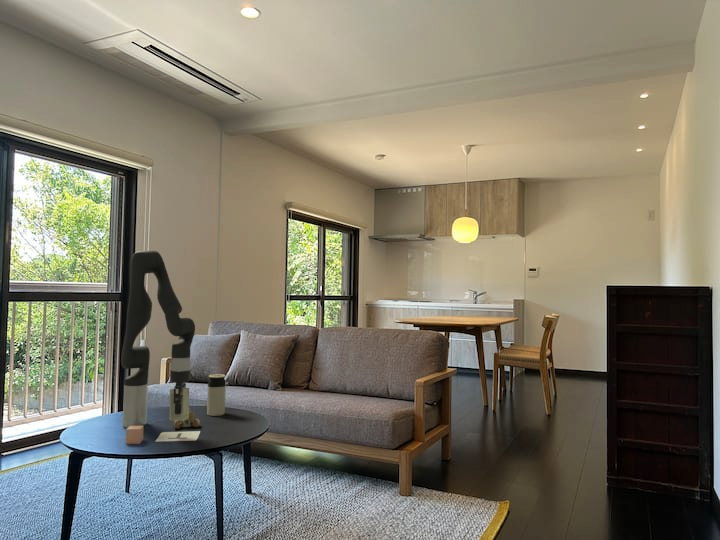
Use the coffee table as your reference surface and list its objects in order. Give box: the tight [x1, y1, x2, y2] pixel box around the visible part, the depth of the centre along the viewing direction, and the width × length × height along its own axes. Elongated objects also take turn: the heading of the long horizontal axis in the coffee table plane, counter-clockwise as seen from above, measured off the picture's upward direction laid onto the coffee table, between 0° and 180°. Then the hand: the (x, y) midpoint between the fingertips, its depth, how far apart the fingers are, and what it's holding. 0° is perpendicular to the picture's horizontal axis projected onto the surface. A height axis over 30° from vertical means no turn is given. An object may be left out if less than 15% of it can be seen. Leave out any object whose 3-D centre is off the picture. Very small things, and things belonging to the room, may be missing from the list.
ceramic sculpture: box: [172, 407, 201, 430], centre depth 223 cm, size 11×9×15 cm
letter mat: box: [154, 430, 201, 443], centre depth 207 cm, size 13×15×1 cm
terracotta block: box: [125, 425, 144, 445], centre depth 198 cm, size 5×5×6 cm
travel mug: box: [206, 373, 227, 417], centre depth 246 cm, size 8×8×18 cm
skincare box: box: [169, 387, 190, 421], centre depth 207 cm, size 6×4×12 cm
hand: (179, 412), depth 207 cm, fingers closed on skincare box, 5 cm apart
